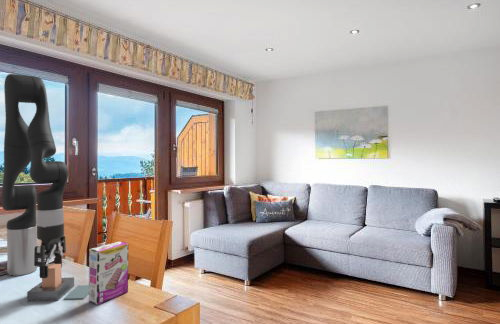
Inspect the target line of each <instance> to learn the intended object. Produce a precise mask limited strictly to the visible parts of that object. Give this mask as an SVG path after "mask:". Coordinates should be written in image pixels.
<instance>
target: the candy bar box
mask: <svg viewBox="0 0 500 324" xmlns="http://www.w3.org/2000/svg"><path fill="white" fill-rule="evenodd" d="M88 250H89V251H88V285H89V294H88V302H90V303H92V304H94V305H97V306H99V305H101V304H104V303H105V302H108V301H111V300H113V299H116V298H117V297H120V296H122V295H124V294H126V293H129V243H127V242H122V241H115V242H112V243H109V244H108V243H107V244H104V245H101V246H95V247H93V248H89V249H88Z"/></svg>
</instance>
